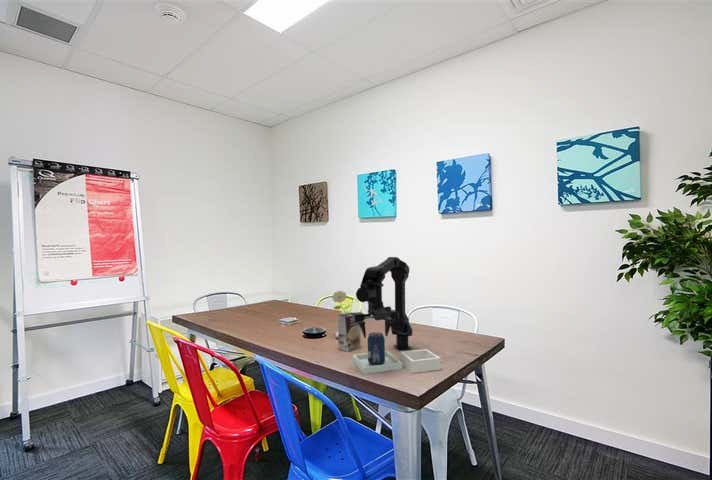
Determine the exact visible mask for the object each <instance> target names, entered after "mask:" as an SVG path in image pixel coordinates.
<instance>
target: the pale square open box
mask: <svg viewBox="0 0 712 480" xmlns="http://www.w3.org/2000/svg"><path fill="white" fill-rule="evenodd" d="M399 361H400V362H401V363H402V367H403V366H404V368H405V369H407V370H408V371H409V372H410V373H411V374H417V373H427V372H433V371H441V370H442V362H441V361H442V359H441V357H440V356H438V355H436V354H435V353H434V352H432V351H430V350H429V349H428V348H424V349H416V350H414V349H413V350H407V351H405V350H404V351H399Z"/></svg>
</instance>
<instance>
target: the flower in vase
mask: <svg viewBox="0 0 712 480" xmlns="http://www.w3.org/2000/svg"><path fill="white" fill-rule="evenodd" d="M331 298H332V301H333V302H334V303H338V304H340V305H336V306H334V307H333V310H340V309H342V311H340V313H341V315H342V314H348V313H351V310H347V309H349V308H350V306H351V304H349V305H346V306H345V307H343V306H342V303H343V302H345V301H346V299H347V294H346V292H345V291H343V290H337V291H336V292H334V293H333V294H332V296H331ZM335 337H336V338H338V330H337V331H336V333H335Z"/></svg>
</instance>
